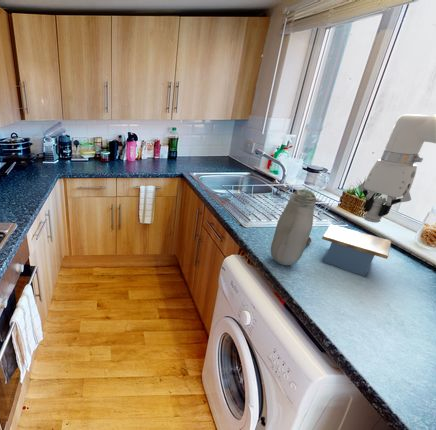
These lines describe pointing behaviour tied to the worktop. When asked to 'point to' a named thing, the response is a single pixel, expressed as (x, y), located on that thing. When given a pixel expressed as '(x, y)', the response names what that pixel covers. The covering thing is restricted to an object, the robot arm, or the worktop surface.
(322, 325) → the worktop surface
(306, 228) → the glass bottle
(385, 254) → the board
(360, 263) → the blue box
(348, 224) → the worktop surface
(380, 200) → the rook chess piece
